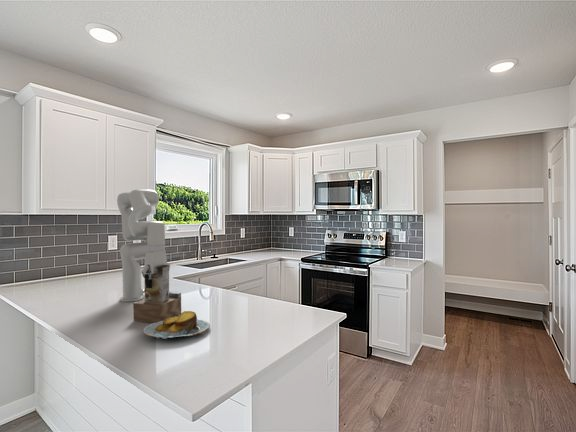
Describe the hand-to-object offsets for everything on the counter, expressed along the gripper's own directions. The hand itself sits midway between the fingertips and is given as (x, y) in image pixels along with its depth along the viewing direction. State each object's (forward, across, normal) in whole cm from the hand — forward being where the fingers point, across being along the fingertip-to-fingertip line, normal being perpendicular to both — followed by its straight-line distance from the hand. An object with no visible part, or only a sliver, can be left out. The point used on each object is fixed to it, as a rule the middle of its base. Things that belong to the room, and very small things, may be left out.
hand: (156, 285), depth 144 cm
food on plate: (+15, +12, +20) cm, 28 cm away
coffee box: (+7, 0, 0) cm, 7 cm away
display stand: (+15, 0, 0) cm, 15 cm away
